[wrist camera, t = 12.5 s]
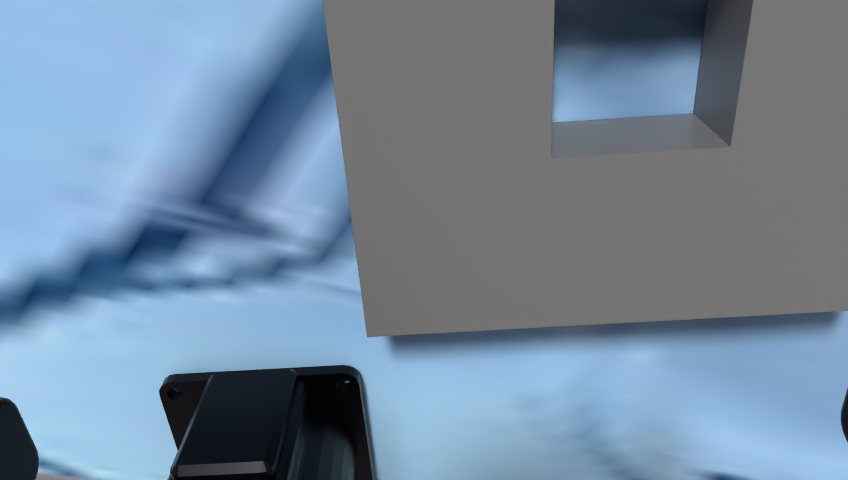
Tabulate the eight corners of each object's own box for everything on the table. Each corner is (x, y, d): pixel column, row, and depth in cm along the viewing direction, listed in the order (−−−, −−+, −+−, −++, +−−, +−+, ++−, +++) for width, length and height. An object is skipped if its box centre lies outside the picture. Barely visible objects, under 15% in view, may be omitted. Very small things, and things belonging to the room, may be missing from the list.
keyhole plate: (839, 261, 20) (889, 308, 18) (373, 287, 21) (367, 336, 19) (994, -339, 14) (1103, -379, 12) (304, -281, 14) (281, -309, 12)
